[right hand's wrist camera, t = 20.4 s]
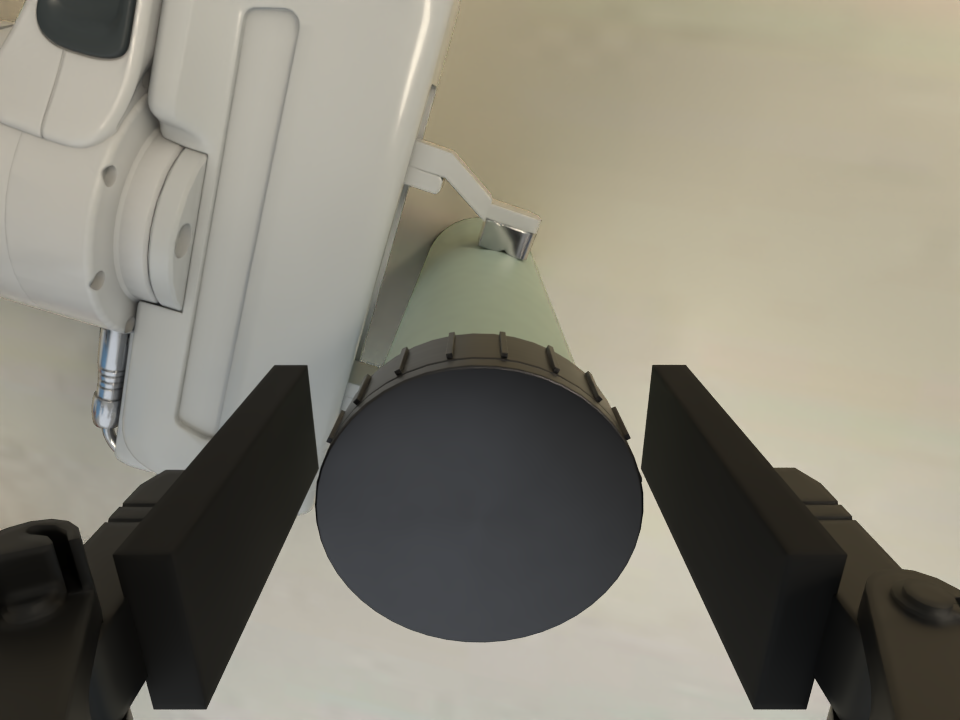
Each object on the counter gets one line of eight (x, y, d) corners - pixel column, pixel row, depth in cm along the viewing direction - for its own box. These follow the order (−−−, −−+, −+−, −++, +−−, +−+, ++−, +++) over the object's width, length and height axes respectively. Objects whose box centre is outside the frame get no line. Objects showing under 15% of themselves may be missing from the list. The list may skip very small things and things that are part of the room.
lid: (510, 625, 14) (514, 689, 12) (279, 498, 12) (251, 551, 11) (687, 437, 12) (717, 483, 10) (439, 267, 11) (432, 291, 9)
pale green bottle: (554, 250, 28) (666, 440, 11) (501, 342, 30) (529, 629, 13) (455, 196, 27) (417, 316, 10) (406, 294, 29) (303, 535, 12)
